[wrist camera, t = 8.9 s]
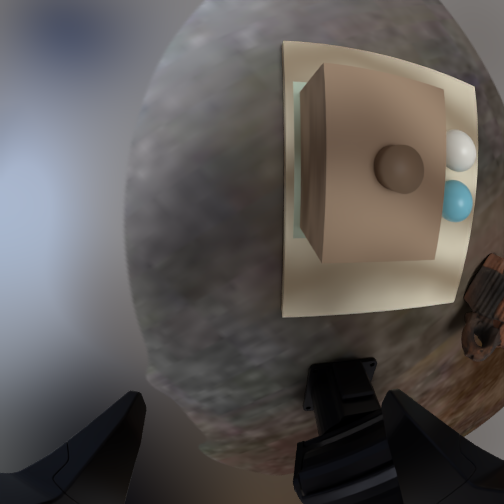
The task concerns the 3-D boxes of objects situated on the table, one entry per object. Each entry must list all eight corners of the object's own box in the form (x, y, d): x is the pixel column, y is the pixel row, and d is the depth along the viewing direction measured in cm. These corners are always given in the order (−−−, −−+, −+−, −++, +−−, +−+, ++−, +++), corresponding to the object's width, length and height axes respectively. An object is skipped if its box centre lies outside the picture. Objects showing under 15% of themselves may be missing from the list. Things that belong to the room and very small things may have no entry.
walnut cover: (386, 227, 17) (445, 267, 11) (299, 227, 17) (327, 273, 11) (390, 103, 14) (455, 86, 8) (299, 91, 14) (329, 54, 8)
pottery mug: (501, 227, 19) (556, 269, 13) (484, 275, 25) (526, 311, 19) (444, 314, 18) (506, 373, 12) (431, 347, 25) (476, 391, 19)
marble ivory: (457, 171, 16) (483, 177, 13) (429, 166, 16) (455, 171, 13) (458, 133, 15) (483, 134, 12) (430, 126, 15) (455, 124, 12)
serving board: (448, 297, 21) (454, 302, 20) (281, 310, 21) (282, 317, 20) (467, 88, 14) (474, 86, 13) (281, 46, 14) (283, 40, 13)
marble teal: (453, 217, 17) (477, 228, 14) (425, 215, 17) (449, 226, 14) (457, 179, 16) (482, 185, 13) (429, 175, 16) (454, 180, 13)
